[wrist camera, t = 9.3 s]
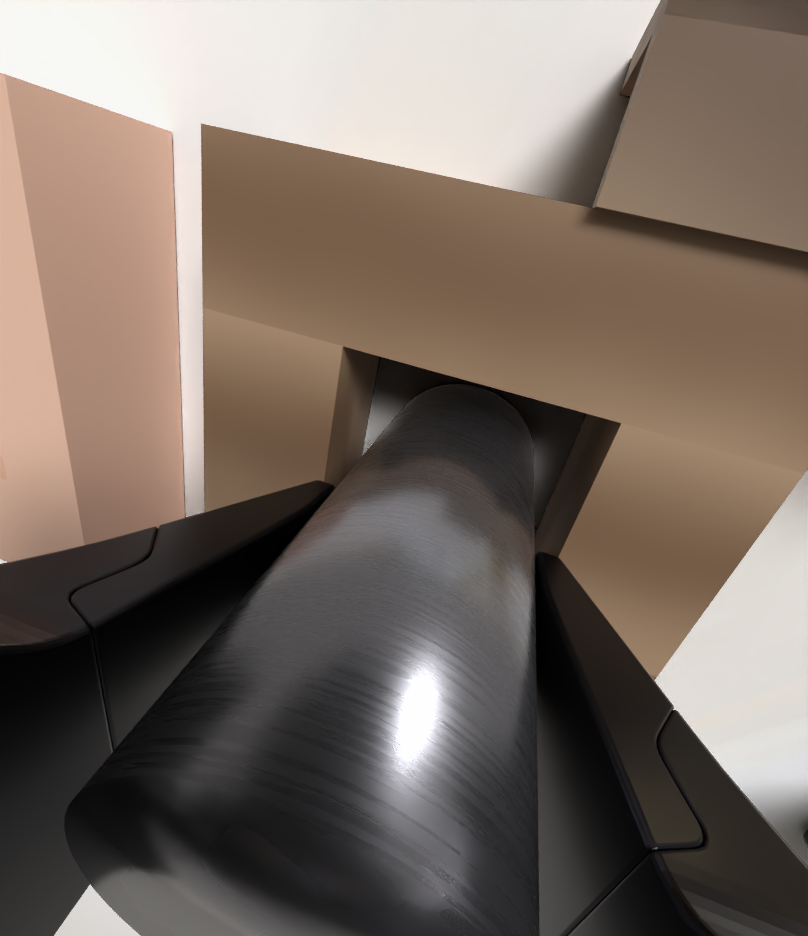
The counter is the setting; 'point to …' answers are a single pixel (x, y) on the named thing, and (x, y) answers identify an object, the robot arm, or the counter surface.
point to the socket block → (548, 312)
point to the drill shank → (351, 715)
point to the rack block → (85, 325)
